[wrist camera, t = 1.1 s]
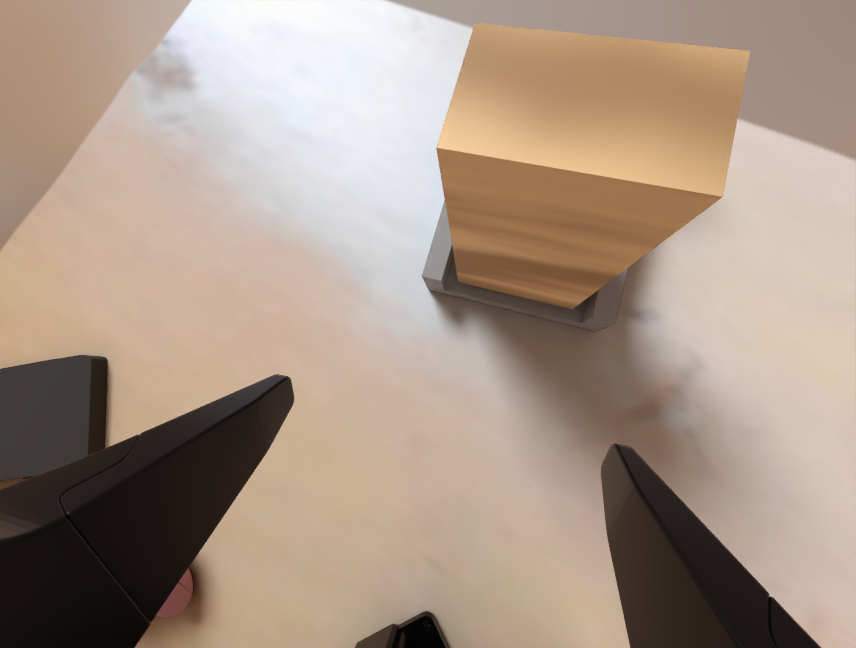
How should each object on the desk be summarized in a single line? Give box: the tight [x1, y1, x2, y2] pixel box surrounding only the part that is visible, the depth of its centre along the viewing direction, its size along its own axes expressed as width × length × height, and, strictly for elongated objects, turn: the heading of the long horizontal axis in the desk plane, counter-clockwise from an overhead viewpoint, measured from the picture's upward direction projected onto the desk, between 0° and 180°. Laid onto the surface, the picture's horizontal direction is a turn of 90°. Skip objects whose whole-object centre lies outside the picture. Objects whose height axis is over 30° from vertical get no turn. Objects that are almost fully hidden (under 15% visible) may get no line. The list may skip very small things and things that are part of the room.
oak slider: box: [436, 23, 750, 309], centre depth 15 cm, size 4×7×12 cm, turn 74°
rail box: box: [422, 201, 628, 331], centre depth 20 cm, size 14×11×6 cm
